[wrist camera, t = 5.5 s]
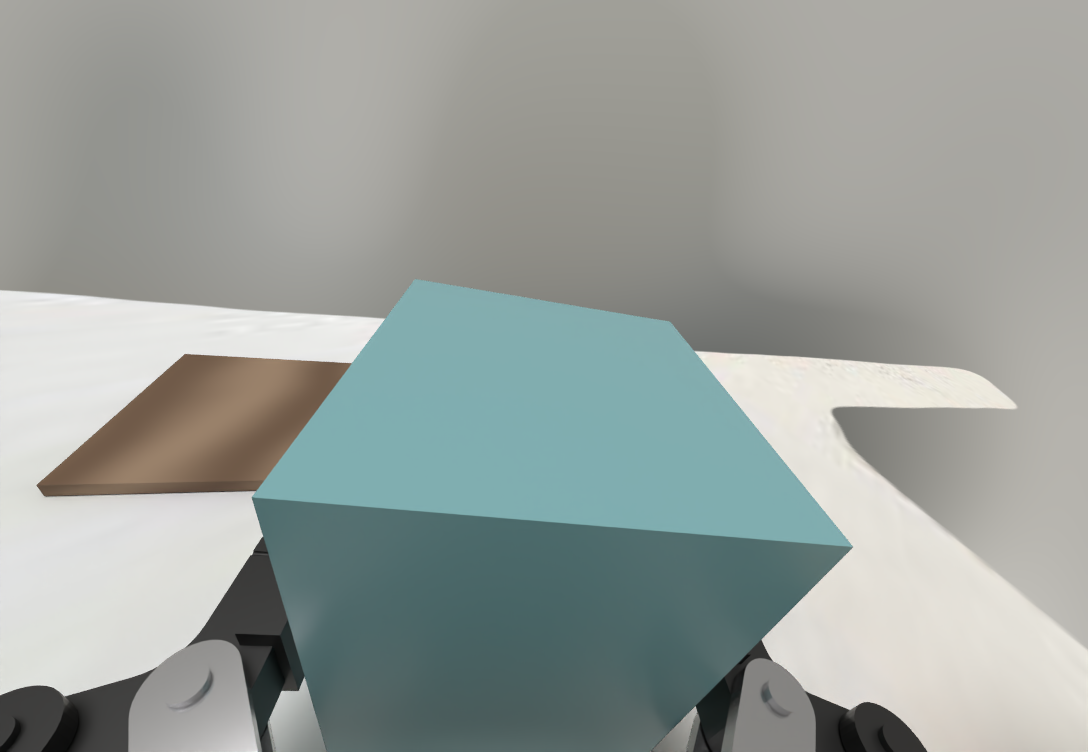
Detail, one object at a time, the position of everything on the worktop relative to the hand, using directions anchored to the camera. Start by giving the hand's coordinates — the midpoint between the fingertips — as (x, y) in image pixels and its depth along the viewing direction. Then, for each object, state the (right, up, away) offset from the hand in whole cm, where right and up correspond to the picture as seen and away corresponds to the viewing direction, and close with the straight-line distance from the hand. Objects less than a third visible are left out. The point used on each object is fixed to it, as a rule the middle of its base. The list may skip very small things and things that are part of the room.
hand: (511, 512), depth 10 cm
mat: (-13, +1, +10) cm, 16 cm away
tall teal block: (-1, -6, +2) cm, 7 cm away
